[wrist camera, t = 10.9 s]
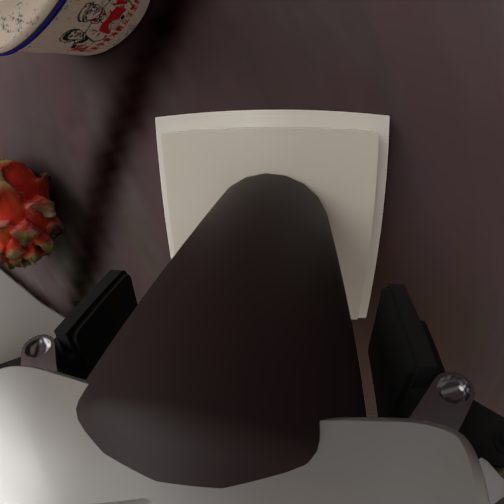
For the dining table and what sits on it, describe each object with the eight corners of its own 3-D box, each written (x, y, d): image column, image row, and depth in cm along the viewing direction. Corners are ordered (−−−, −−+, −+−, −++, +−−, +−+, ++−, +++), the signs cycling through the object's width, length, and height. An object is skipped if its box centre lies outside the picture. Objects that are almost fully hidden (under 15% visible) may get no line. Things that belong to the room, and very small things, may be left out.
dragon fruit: (94, 238, 26) (26, 166, 26) (79, 187, 19) (5, 110, 18) (31, 306, 22) (-31, 222, 22) (-9, 277, 15) (-68, 176, 14)
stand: (383, 115, 17) (396, 116, 15) (363, 306, 23) (369, 331, 21) (164, 116, 19) (144, 118, 16) (185, 297, 25) (172, 319, 23)
